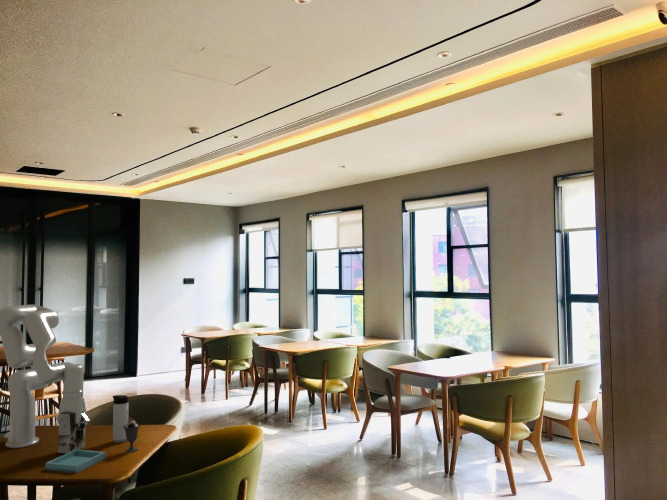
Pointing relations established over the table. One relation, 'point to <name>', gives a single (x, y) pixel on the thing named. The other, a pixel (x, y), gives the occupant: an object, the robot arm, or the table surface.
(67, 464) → the tray
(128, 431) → the sundae
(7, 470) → the table surface
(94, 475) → the table surface
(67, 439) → the coffee box
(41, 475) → the table surface
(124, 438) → the travel mug
